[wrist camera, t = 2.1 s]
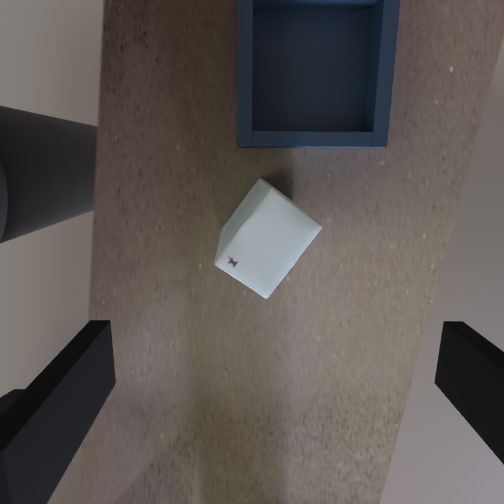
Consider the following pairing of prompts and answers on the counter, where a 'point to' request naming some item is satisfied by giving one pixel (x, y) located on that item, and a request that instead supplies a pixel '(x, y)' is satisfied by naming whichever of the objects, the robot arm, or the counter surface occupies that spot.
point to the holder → (315, 72)
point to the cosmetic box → (264, 238)
